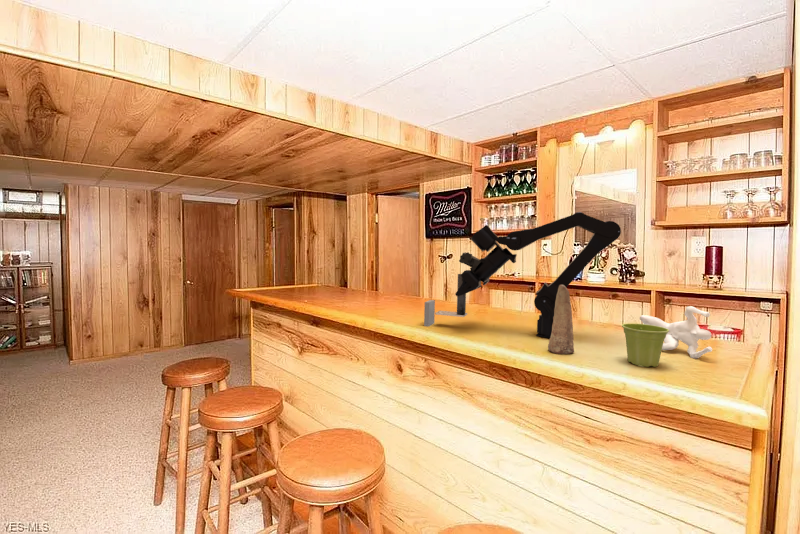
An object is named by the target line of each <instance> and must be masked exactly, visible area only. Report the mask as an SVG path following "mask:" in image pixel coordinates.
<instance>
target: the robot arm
mask: <svg viewBox="0 0 800 534" xmlns="http://www.w3.org/2000/svg"><path fill="white" fill-rule="evenodd" d="M576 227H577V228H578V227H579V228H581V229H583V230H585V231H587V232H589V233H592V235H591V237H590V239H589V240H588V241H587V244H586V245H585V246H584V248H582V250H581V251H580V252H579V253H578V255H576V257H574V259H573V260H572V261H571V262H570V263H569V264H568V266H567V267H566V268H564V270H563V271H562V272H561V273H560V274H559V276H557V278H556V279H554V281H552V282H551V283H550V284H548V283H547V282H546V281H545V282H544V284H543V285H542V286H541V288H539V290H537V291H536V292H535V295H536V296H535V298H534V300H533V302H534V303H533V305H534V306H535V309H537V310H538V311H540V314H539V315H538V319H537V322H536V335H535V336H536V337H541V338H546V339H550V337H551V333H552V325H553V317H554V309H555V301H556V296H557V292H558V288H559V285H564V286H565V287H566V288H567V287H569V285H571V283H572V282H573V281H574V280H575V279H576V277H578V275H579V274H580V273H582V271H583V270H584V269H585V268H586V267H587V266H588V264H589V263H590V262H591V261H592V260H594V258H595V257H596V256H597V255H598V254H599V253H600V252H602V251H603V250H605V249H606V248H607V247H609V246H610V245H611V244H612V243H614V242H615V241H616V240H618V239H619V237H620V236H621V233H622V228H621V226H620V225H619V224H618V222H615V221H611V220H608V221H607V220H606V221H603V220H600V219H598V218H596V217H593V216H590V215H587V214H585V213H583V212H581V211H578V212H575V213H573V214H571V215H568V216H565V217H562V218H559V219H557V220H554V221H552V222H549V223H545V224H542V225H540V226H537V227H533V228H528V229H521V230H515V231H511V232H509V233H508V234H506V235H505V236H502V235H499V236H498V235H497V234H496V233H495V232H494V231H493V230H492V228H491V227H490V225H488V224H485V225H484V226H483V227H481V228H480V229H479V230H476V232H474V234H472V236H471V237H470V240H471V242H473V243H474V245H475V246H477V248H478V249H479V250H480V251H481V252H485V251H486V253H488V252H489V253H488V254H487V255H486V256H485V257H481V258H480V259H479V258H478V257H476V256H473V254H472V253H470V252H468V251H467V252H462V254H461V255H460V258H459V260H458V262H459V263H461V264H464V265H466V266H468V267H470V268H469V269H465V270H464V271H463V272H461V273H460V274H461V277H462V278H463V283H462V284H461V286H460V287H459V289H458V290H456V292H455V296H456V297H458V296H460V295H463V294H465V293H466V294H467V293H470V292H473V291H476V290H478V289H479V288H483V287H482V285H483V286H485V285H487V284H488V283H489V282H490V278H491V277H492V276H493V275H494V274H496V273H497V272H498V271H499V270H500V269H501V268H502V267H503V266H504V265H505V264H506V263H507V262H509V261H510V262H511V263H512V264H515V263H517V256H518V255H517V253H512V252H511V251H520V250H523V249H525V248H526V247H528V246H530V245H532V244H534V243H535V242H537V241H539V240H542V239H544V238H547V237H550V236H553V235H555V234H556V235H557V234H559V233H563V232H565V231H568V230H571V229H574V228H576ZM501 245H504V246H506V247H505V248H504V247H502V246H501ZM494 247H495V248H494ZM510 250H511V251H510Z"/></svg>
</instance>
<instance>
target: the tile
mask: <svg viewBox="0 0 800 534" xmlns="http://www.w3.org/2000/svg"><path fill="white" fill-rule="evenodd" d="M435 305H436V300H433V299H429V300H427V301H424V309H423V311H424V315H423V316H424V318H423V319H424V320H423V321H424V322H423V326H424V327H428V328H429V327H430V326H433V325H434V324H435V315H436V314H435V313H436V312H435V310H436V307H435Z"/></svg>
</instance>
